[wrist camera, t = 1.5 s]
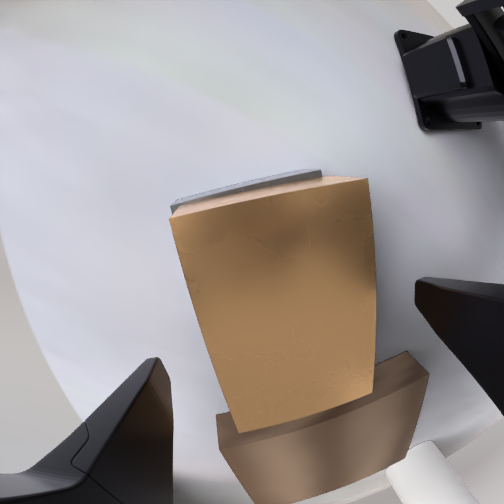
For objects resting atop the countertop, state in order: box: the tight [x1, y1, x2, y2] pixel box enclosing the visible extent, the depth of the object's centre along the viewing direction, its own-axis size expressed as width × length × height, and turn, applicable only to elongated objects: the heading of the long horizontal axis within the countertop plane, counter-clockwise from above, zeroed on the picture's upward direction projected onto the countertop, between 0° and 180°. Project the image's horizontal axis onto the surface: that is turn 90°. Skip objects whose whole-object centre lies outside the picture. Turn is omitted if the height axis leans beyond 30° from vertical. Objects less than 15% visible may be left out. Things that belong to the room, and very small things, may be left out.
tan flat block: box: [169, 176, 376, 433], centre depth 11 cm, size 6×9×3 cm, turn 11°
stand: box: [216, 351, 429, 504], centre depth 18 cm, size 14×12×3 cm
